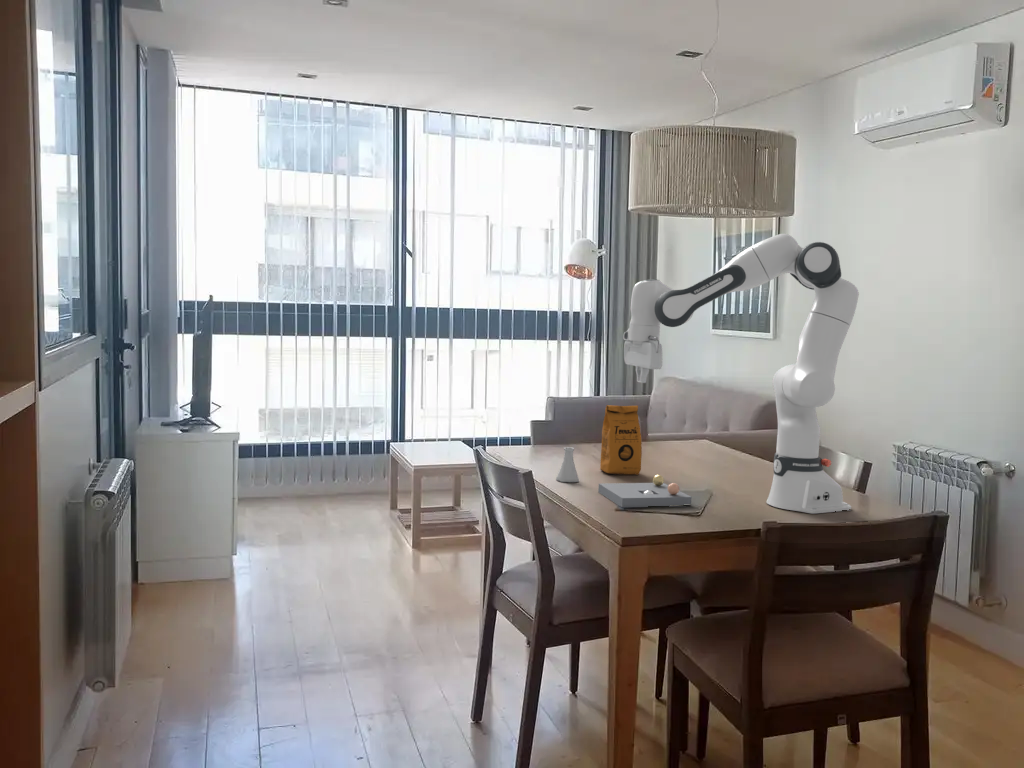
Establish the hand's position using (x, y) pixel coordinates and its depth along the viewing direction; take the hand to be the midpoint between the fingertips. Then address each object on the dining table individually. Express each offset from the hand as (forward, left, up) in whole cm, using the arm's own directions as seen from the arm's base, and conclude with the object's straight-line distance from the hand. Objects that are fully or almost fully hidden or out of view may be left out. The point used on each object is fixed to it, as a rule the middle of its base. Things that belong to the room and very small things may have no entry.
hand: (641, 382), depth 243 cm
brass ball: (-3, +10, -27) cm, 29 cm away
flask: (+18, -10, -31) cm, 38 cm away
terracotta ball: (-2, +21, -27) cm, 34 cm away
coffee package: (-3, -20, -31) cm, 37 cm away
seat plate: (+4, +15, -31) cm, 35 cm away
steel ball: (+4, +18, -30) cm, 35 cm away
